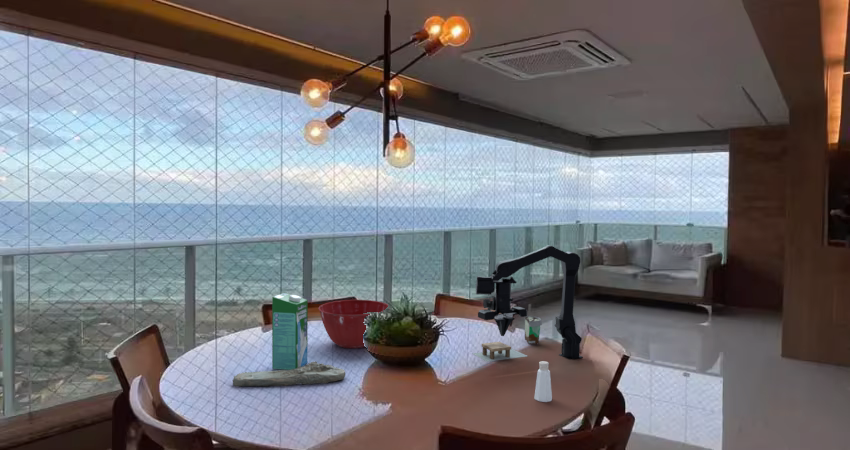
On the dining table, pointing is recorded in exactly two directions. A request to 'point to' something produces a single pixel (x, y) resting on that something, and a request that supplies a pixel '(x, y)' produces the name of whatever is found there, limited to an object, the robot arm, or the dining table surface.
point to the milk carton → (289, 331)
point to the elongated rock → (291, 376)
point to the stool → (496, 348)
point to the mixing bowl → (348, 320)
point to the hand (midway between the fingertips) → (502, 335)
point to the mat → (499, 355)
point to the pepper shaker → (543, 383)
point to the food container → (532, 329)
